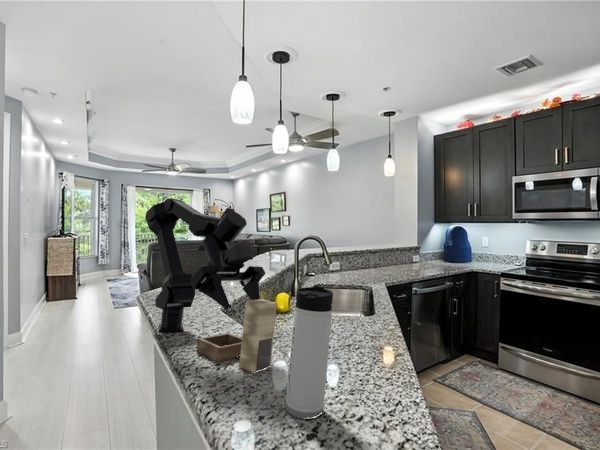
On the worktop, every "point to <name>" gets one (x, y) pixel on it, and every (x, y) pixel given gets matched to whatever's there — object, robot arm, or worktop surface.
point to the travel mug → (309, 352)
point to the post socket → (220, 347)
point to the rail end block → (257, 335)
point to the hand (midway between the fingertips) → (244, 306)
